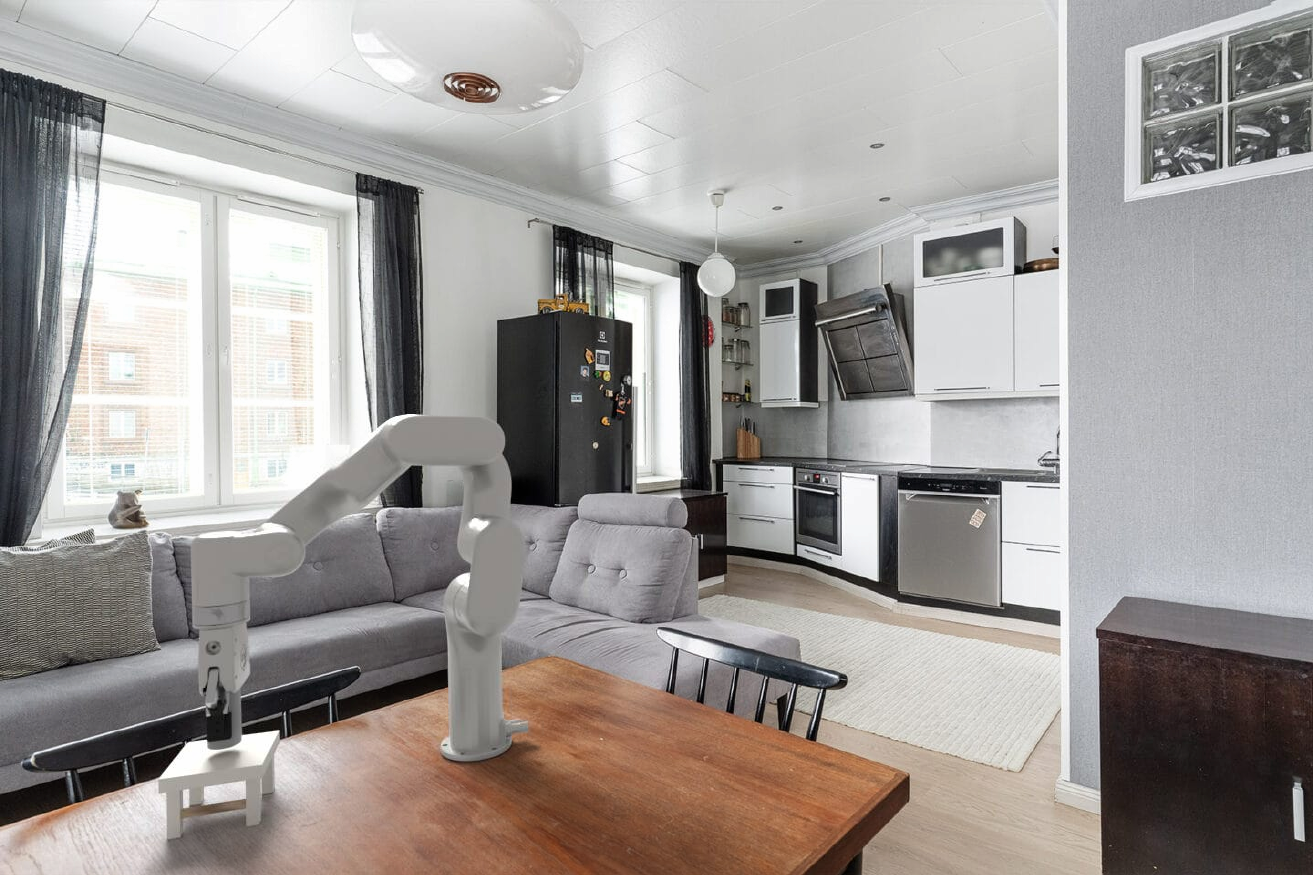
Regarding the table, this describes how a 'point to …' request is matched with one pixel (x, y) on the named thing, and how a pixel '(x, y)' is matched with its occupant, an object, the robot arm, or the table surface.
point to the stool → (219, 778)
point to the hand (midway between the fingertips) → (224, 731)
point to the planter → (236, 722)
